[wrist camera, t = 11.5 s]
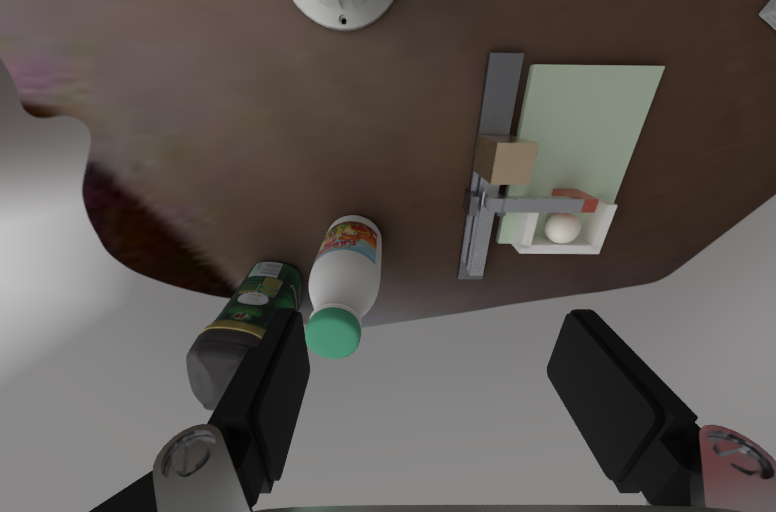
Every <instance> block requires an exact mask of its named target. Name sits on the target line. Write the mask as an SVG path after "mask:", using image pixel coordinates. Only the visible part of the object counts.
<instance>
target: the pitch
mask: <svg viewBox="0 0 776 512" xmlns="http://www.w3.org/2000/svg"><path fill="white" fill-rule="evenodd" d="M664 68H665V66H623V65H543V64H534V65H530V69H529V74H528V79H527V84H526V89H525V95H524V100H523V105H522V110H521V115H520V120H519V125H518V130H517V135H516V137H520V138H523V139H526V140H530V141H533V142H537V143H539V147H538V152H537V156H536V160H535V164H534V169H533V173H532V177H531V182H530V185H507V186H506V191H505V194H506V195H507V196H552V193H553V189H579V190H581V191H583V192H585V193H587V194H589V195H591V196H593V197H595V198H603V199H605V200H607V201H610V202H612V203H614V201H615V198H616V195H617V193H618V190H619V187H620V185H621V182H622V179H623V177H624V174H625V172H626V169H627V166H628V164H629V161H630V158H631V156H632V153H633V150H634V148H635V145H636V142H637V140H638V137H639V134H640V132H641V129H642V126H643V124H644V121H645V118H646V116H647V113H648V110H649V108H650V105H651V102H652V100H653V97H654V95H655V92H656V89H657V87H658V84H659V81H660V79H661V76H662V73H663V71H664ZM517 214H518V213H512V212H506V215H505V216H500V221H499V226H498V231H497V236H496V241H497V243H508V244H511V241H512V237H513V232H514V228H515V223H516V219H517ZM554 214H556V213H539V216H538V220H537V223H536V227H535V231H534V235H533V236H546V233H545V224H546V222H547V220H548V219H549V218H550V217H551V216H552V215H554ZM571 214H573V215H574V216H576V217H577V218H578V220H579V221H580V225H581V230H582V227H583V224H584V221H585V218H586V215H587V213H571ZM581 230H580V233H581ZM580 233H579V235H578V236H580Z"/></svg>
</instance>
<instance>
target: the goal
mask: <svg viewBox="0 0 776 512" xmlns="http://www.w3.org/2000/svg"><path fill="white" fill-rule="evenodd" d="M598 199H599V202H598V205H597V208H596V211H595V213H587V215H586V218H585V221H584V224H583V227H582V230H581V233H580V236H577V237H576V238H575V239H574V240H573V241H571V242H568V243H563V244H561V243H555V242H553V241H551V240H550V239H549V238H548V237H547V236H533V235H534V231H535V227H536V223H537V220H538V216H539V213H518V214H517V219H516V223H515V228H514V232H513V237H512V241H511V244H512V245H513V246H514V248H515V249H516V250H517V251H518V252H519V253H528V254H599V252H600V250H601V247H602V245H603V242H604V239H605V237H606V234H607V232H608V229H609V226H610V224H611V221H612V219H613V216H614V213H615V211H616V208H617V206H618V205H616V204H614V203H612V202H610V201H607V200H605V199H603V198H598Z"/></svg>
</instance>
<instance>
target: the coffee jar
mask: <svg viewBox="0 0 776 512" xmlns="http://www.w3.org/2000/svg"><path fill="white" fill-rule="evenodd" d="M301 299H302V280H301V276H300V274H299V272H298V271H297V270H296V269H295V268H293V267H292V266H289V265H287V264H283V263H279V262H260V263H257V264H256V265H254V266H253V268H252V269H251V270H250V272H249V273H248V274H247V276H246V277H245V279H244V280H243V282H242V283H241V285H240V286H239V288H238V289H237V291H236V292H235V294H234V295H233V296H232V298H231V299H230V301H229V302H228V303H227V305H226V306H225V308H224V309H223V311H222V312H221V313H220V315H219V316H218V317H217V318H216V320H215V321H214V322H213V323H212V324H210V325H209V326H207V327H206V328H205V329H204V330H203V331H202V332H201V333H200V335H199V336H198V337H197V339H196V341H195V342H194V344H193V345H192V347H191V349H190V350H189V352H188V354H187V357H186V361H187V371H188V377H189V381H190V385H191V388H192V391H193V393H194V395H195V396H196V398H197V399H198V400H199V401H200V402H201V403H202V404H203V406H204V408H205V409H207V410H215V408H216V407H217V405H218V403H219V401H220V399H221V398H222V396H223V394H224V392H225V390H226V389H227V387H228V385H229V383H230V381H231V379H232V378H233V376H234V374H235V372H236V370H237V369H238V367H239V365H240V363H241V361H242V359H243V358H244V356H245V354H246V352H247V351H248V349H249V348H251V347H257V346H258V344H259V342H260V341H261V339H262V337H263V335H264V333H265V331H266V329H267V327H268V325H269V323H270V321H271V319H272V317H273V316H274V314H275V312H276V310H277V309H278V308H295V309H296V312H298V310H299V308H300V304H301Z"/></svg>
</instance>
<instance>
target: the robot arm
mask: <svg viewBox="0 0 776 512" xmlns="http://www.w3.org/2000/svg"><path fill="white" fill-rule="evenodd" d="M293 1H294V3H295V4H296V5H297V6H298V8H299V9H300V10H301V11H302V12H303V13H304V14H306V15H307V16H308V17H309V18H310V19H311V20H313V21H314V22H316V23H318V24H320V25H321V26H323V27H325V28H329V29H332V30H335V31H346V32H348V31H354V30H360V29H362V28H364V27H367V26H369V25H371V24H372V23H374V22H375V21H376V20H378V19H379V18H380V17H381V16H382V15H383V14H384V13H385V12H386V11H387V10H388V9H389V8H390V6H391V4H392V3H393V1H394V0H293ZM343 19H346V21H347V22H346V24H342V20H343ZM309 374H310V364H309V358H308V352H307V345H306V339H305V333H304V327H303V320H302V314H301V312H296V309H295V308H278V309H277V310H276V312H275V314H274V316H273V317H272V319H271V321H270V323H269V325H268V327H267V329H266V331H265V333H264V335H263V337H262V339H261V341H260V342H259V344H258V346H257V347H251V348H249V349H248V351H247V352H246V354H245V356H244V358H243V359H242V361H241V363H240V365H239V367H238V369H237V370H236V372H235V374H234V376H233V378H232V379H231V381H230V383H229V385H228V387H227V389H226V390H225V392H224V394H223V396H222V398H221V399H220V401H219V403H218V405H217V407H216V408H215V410H214V412H213V414H212V416H211V418H210V420H209V421H208V423H207V424H201V425H196V426H192V427H190V428H188V429H186V430H183V431H182V432H180V433H179V434H177V435H176V436H174V437H173V438H172V439H171V440H170V441H169V442H168V443H167V444H166V445H164V447H163V448H162V450H161V451H160V452H159V454H158V455H157V457H156V460H155V462H154V465H153V471H151V472H149V473H148V474H146V475H145V476H143V477H142V478H140V479H139V480H137V481H136V482H134V483H132V484H131V485H129V486H128V487H126V488H125V489H123V490H122V491H120V492H119V493H117V494H116V495H114V496H113V497H111V498H109V499H108V500H106V501H105V502H103V503H102V504H100V505H99V506H97V507H95V508H94V509H92V510H91V511H89V512H253V509H252V507H253V506H254V505H255V504H256V503H257V500H258V497H259V494H260V493H271V490H272V487H273V483H274V481H277V480H278V481H279V479H280V478H281V475H282V472H283V469H284V465H285V461H286V458H287V454H288V450H289V447H290V444H291V440H292V436H293V433H294V429H295V425H296V421H297V418H298V415H299V411H300V407H301V404H302V400H303V397H304V393H305V389H306V386H307V382H308V379H309ZM547 374H548V377H549V379H550V381H551V382H552V384H553V386H554V388H555V389H556V391H557V393H558V395H559V396H560V398H561V400H562V401H563V403H564V405H565V407H566V408H567V410H568V412H569V414H570V415H571V417H572V419H573V420H574V422H575V424H576V426H577V427H578V429H579V431H580V432H581V434H582V436H583V438H584V439H585V441H586V443H587V444H588V446H589V448H590V450H591V451H592V453H593V455H594V456H595V458H596V460H597V462H598V463H599V465H600V467H601V468H602V470H603V472H604V474H605V475H606V476H607V477H608V478H609V479H610V480H613V482H614V484H615V485H616V487H617V489H618V490H619V492H620V493H639V492H640V491H641V492H642V493H643V495H644V496H645V498H646V499H647V501H646V506H645V505H382V506H381V505H379V506H378V505H377V506H375V505H372V506H321V507H290V508H278V509H267V510H259V511H254V512H776V461H775V460H774V459H773V458H772V456H771V455H769V454H768V453H767V452H766V451H765V450H764V449H763V448H761V447H760V446H759V445H757V444H756V443H754V442H753V441H752V440H750V439H749V438H747V437H745V436H743V435H741V434H739V433H737V432H736V431H733V430H731V429H728V428H725V427H722V426H717V425H705V426H703V427H702V428H700V427H699V426H698V425H697V424H696V423H695V421H696V420H697V418H698V417H697V416H696V415H695V414H694V413H693V412H692V411H691V409H690V408H688V406H687V405H686V404H685V403H684V402H683V401H682V400H681V399H680V398H679V397H678V396H677V395H676V394H675V393H674V392H673V391H672V390H671V389H670V388H669V387H668V386H667V385H666V384H665V383H664V382H663V381H662V380H661V379H660V378H659V377H658V376H657V375H656V374H655V373H654V372H653V371H652V370H651V369H650V368H649V367H648V366H647V365H646V364H645V363H644V361H643V360H642V359H641V358H640V357H639V356H638V355H637V354H636V353H635V352H634V351H633V350H632V349H631V348H630V347H629V346H628V345H627V344H626V343H625V342H624V341H623V340H622V339H621V338H620V337H619V336H618V335H617V334H616V333H615V332H614V331H613V330H612V329H611V328H610V327H609V326H608V325H607V324H606V323H605V322H604V321H603V320H602V318H600V316H599V315H598V314H597V313H595V312H594V311H593V310H589V309H587V310H586V309H582V310H581V309H579V310H578V309H576V310H572V311H571V312H570V314H567V315H566V317H565V320H564V322H563V325H562V328H561V330H560V333H559V336H558V339H557V341H556V344H555V347H554V350H553V352H552V355H551V358H550V361H549V363H548V366H547Z"/></svg>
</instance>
